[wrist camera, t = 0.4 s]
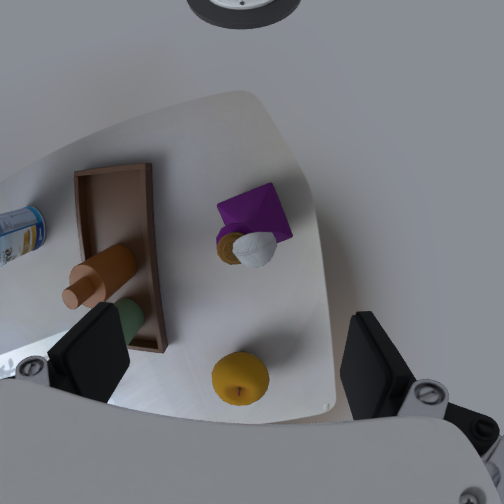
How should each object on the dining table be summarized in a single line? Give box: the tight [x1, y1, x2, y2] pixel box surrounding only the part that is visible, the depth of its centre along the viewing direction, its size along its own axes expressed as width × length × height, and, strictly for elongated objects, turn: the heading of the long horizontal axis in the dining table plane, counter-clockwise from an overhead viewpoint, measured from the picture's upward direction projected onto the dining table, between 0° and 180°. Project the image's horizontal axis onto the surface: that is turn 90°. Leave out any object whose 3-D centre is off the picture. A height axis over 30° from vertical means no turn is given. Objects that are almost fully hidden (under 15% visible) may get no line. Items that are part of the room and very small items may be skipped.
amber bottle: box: [62, 244, 137, 309], centre depth 34 cm, size 6×6×14 cm
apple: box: [212, 352, 270, 406], centre depth 41 cm, size 9×9×9 cm
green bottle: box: [114, 298, 144, 346], centre depth 37 cm, size 6×6×14 cm
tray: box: [74, 163, 168, 353], centre depth 40 cm, size 30×13×2 cm, turn 0°
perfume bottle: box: [216, 183, 293, 268], centre depth 30 cm, size 8×8×18 cm
